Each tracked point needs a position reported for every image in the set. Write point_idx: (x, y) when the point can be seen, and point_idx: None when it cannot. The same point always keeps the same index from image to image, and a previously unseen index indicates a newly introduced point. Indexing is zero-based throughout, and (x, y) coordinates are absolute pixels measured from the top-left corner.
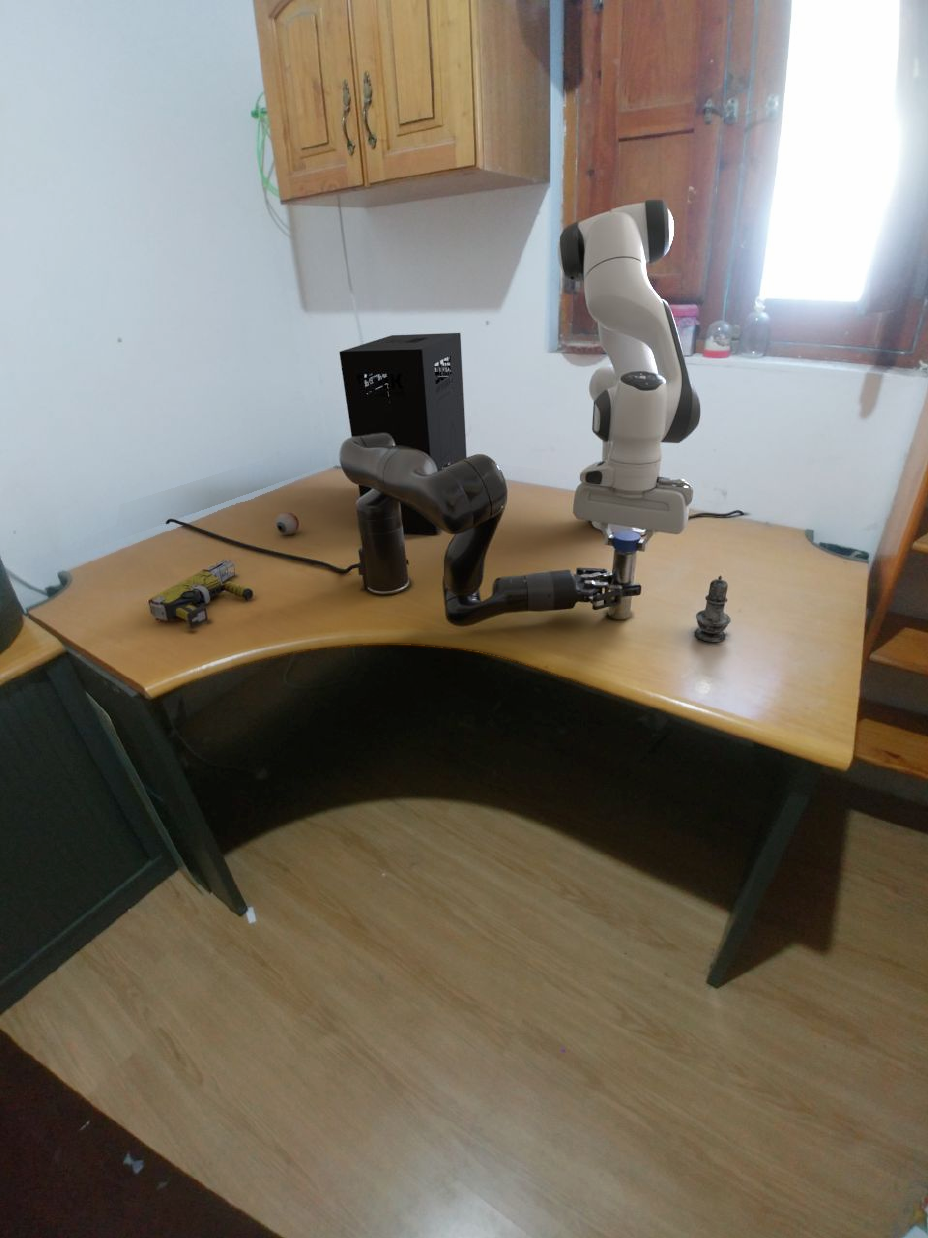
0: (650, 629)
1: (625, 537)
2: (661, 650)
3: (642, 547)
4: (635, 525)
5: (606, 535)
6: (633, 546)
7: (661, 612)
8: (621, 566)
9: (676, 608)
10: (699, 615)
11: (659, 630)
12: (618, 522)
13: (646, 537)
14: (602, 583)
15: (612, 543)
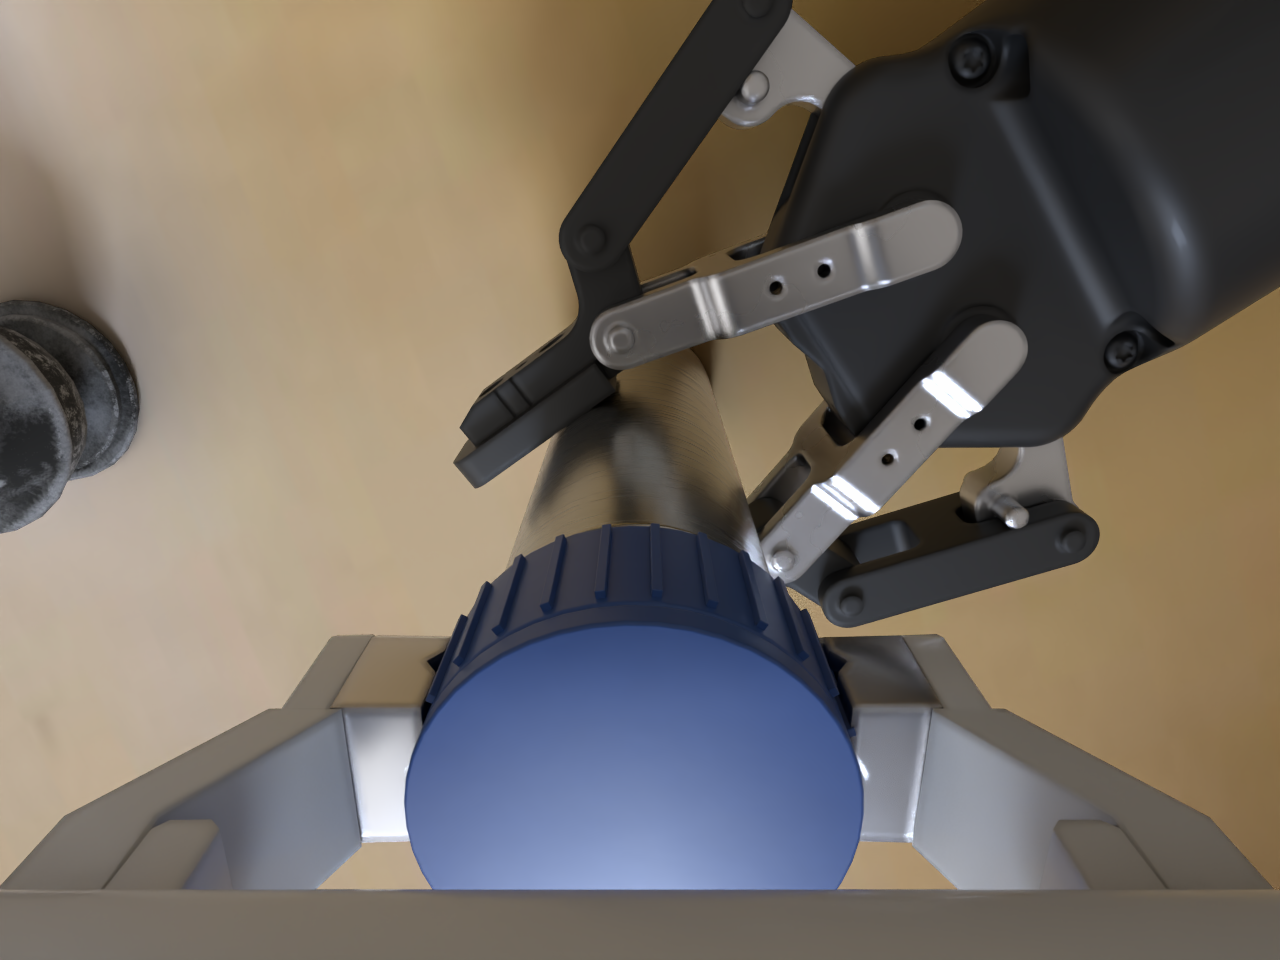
0: (390, 302)
1: (636, 745)
2: (218, 56)
3: (347, 663)
4: (322, 933)
5: (990, 722)
6: (469, 620)
7: (411, 537)
8: (629, 457)
9: (352, 617)
10: (25, 404)
11: (336, 316)
12: (846, 943)
13: (205, 781)
14: (777, 293)
15: (833, 653)
